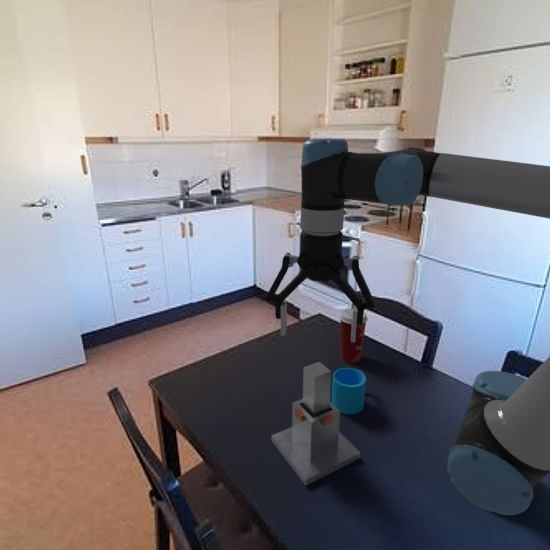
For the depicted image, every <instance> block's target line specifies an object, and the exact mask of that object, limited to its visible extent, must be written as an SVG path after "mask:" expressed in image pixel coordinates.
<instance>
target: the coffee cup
mask: <svg viewBox="0 0 550 550" xmlns="http://www.w3.org/2000/svg"><path fill="white" fill-rule="evenodd" d="M352 317H353V307H352V308H346V309H343V310H342V311H341V312H340V314H339V320H340V321H339V322H340V326H339V327H340V329H339V331H340V358H341V360H342V361H344V362H347V363H350V364H351V363H357V362H360V360H361V357H362V351H363V347H364V345H363V344H364V339H365V332H366V331H365V330H366V325H367V321H368V317H367V313H366V312H365V311H364V313H363V323H362V325H356V337H355V342H351V331H352Z"/></svg>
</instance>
